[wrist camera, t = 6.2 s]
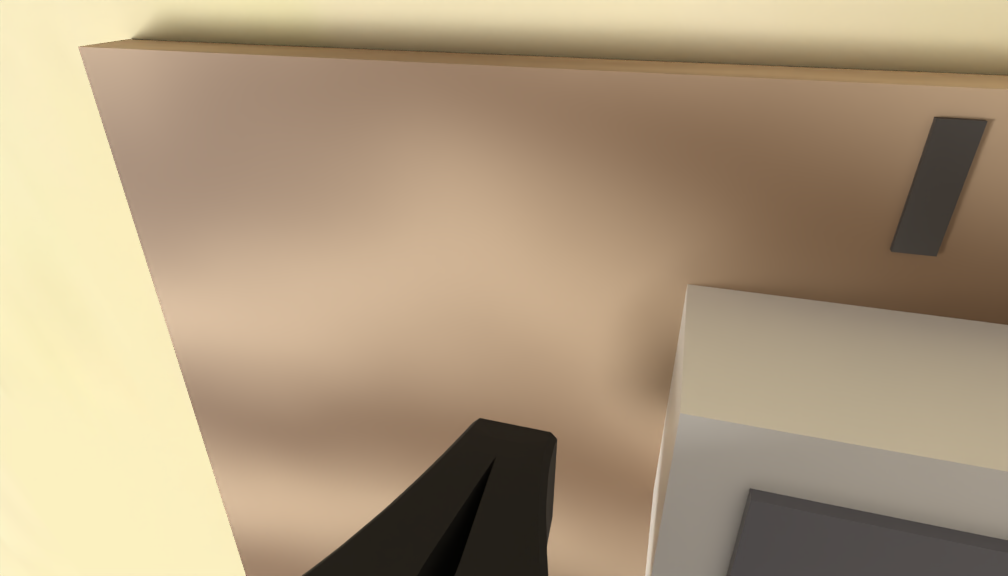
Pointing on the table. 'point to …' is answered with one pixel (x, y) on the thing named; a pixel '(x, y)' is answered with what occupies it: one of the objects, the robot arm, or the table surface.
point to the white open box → (831, 442)
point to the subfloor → (513, 252)
